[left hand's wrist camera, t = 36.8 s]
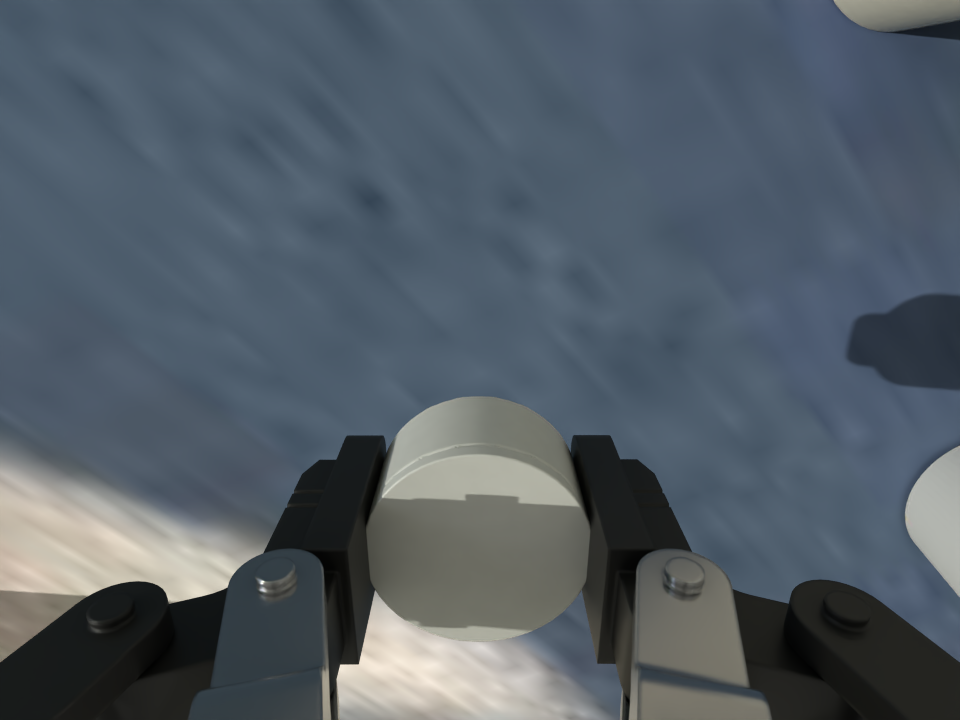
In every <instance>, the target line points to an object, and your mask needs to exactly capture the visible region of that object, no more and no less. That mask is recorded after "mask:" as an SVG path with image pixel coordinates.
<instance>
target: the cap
mask: <svg viewBox="0 0 960 720" xmlns="http://www.w3.org/2000/svg"><path fill="white" fill-rule="evenodd" d="M366 534H367V546H368V558H369V570H370V580H371V583H372V585H373V587H374V588H375V590H376V592H377V593H378V595H379V596H380V597H381V599H382V600H383V601H384V602H385V603H386V605H387V606H388V607H389V608H390V609H392V610H393V611H394V612H395V613H396V614H397V615H398V616H400V617H401V618H403V619H404V620H405V621H407V622H408V623H410V624H412V625H414V626H416V627H417V628H419V629H422V630H424V631H426V632H429V633H431V634H434V635H437V636H441V637H444V638H449V639H454V640H459V641H471V642H487V641H496V640H503V639H508V638H512V637H516V636H519V635H522V634H526V633H528V632H531V631H533V630H535V629H537V628H539V627H541V626H543V625H545V624H546V623H548V622H550V621H552V620H553V619H554V618H556V617H557V616H558V615H559V614H561V613H562V612H563V611H564V610H565V609H566V608H567V607H568V606H569V605H570V604H571V603H572V602H573V601H574V600H575V598H576V597H577V596H578V594H579V593H580V591H581V590H582V588H583V586H584V584H585V583H586V577H587V565H588V553H589V541H590V522H589V518H588V515H587V511H586V507H585V503H584V500H583V496H582V492H581V488H580V485H579V481H578V477H577V473H576V470H575V466H574V462H573V458H572V455H571V453H570V451H569V448H568V446H567V444H566V443H565V441H564V440H563V438H562V436H561V435H560V434H559V433H558V431H557V430H556V429H555V428H554V427H553V426H552V425H551V424H550V423H549V422H548V421H547V420H545V419H544V418H543V417H541V416H540V415H538V414H537V413H536V412H534V411H532V410H530V409H529V408H527V407H525V406H523V405H520V404H517V403H514V402H511V401H508V400H504V399H500V398H496V397H494V398H493V397H461V398H456V399H453V400H449V401H446V402H443V403H440V404H438V405H435V406H432V407H430V408H428V409H426V410H425V411H423V412H421V413H420V414H418V415H417V416H416V417H414V418H413V419H412V420H410V421H409V422H408V423H407V424H406V425H405V426H404V427H403V428H402V429H401V430H400V431H399V433H398V434H397V435H396V437H395V438H394V439H393V441H392V443H391V445H390V446H389V448H388V451H387V453H386V456H385V459H384V462H383V466H382V469H381V473H380V476H379V480H378V484H377V487H376V491H375V495H374V498H373V502H372V505H371V509H370V514H369V516H368V520H367V523H366Z"/></svg>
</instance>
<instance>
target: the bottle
mask: <svg viewBox="0 0 960 720" xmlns="http://www.w3.org/2000/svg"><path fill="white" fill-rule="evenodd" d="M834 2H835V4H836V5H837V6H838V8H839V9H840V10H841V11H842V12H843V13H844V14H845V15H846V16H847V17H848V18H849V19H850V20H852V21H854V22H855V23H857V24H858V25H860V26H863V27H865V28H868V29H871V30H875V31H881V32H898V31H905V30H911V29H916V28H922V27H927V26H933V25H938V24H944V23H949V22H955V21H960V0H834Z"/></svg>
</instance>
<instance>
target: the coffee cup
mask: <svg viewBox="0 0 960 720" xmlns="http://www.w3.org/2000/svg"><path fill="white" fill-rule="evenodd" d="M905 521H906V527H907V530H908V533H909V535H910V537H911V539H912V540H913V541H914V543H915V544H916V545H917V546H918V548H919V549H920V550H921V551H922V552H923V554H924V555H925V556H926V557H927V558H928V560H929V561H930V562H931V563H932V564H933V566H934V567H935V568H936V569H937V570H938V572H939V573H940V574H941V575H942V576H943V578H944V579H945V580H946V581H947V582H948V584H949V585H950V586H951V587H952V588H953V590H954V591H955V592H956V593H957V594H958V596H959V597H960V446H958V447H956V448H954V449H952V450H951V451H949V452H947V453H946V454H944V455H943V456H941V457H940V458H939V459H937V460H936V461H935V462H934V463H933V464H932V465H931V466H930V467H928V468H927V470H926V471H925V472H924V473H923V474H922V475H921V476H920V478H919V479H918V481H917V482H916V483H915V485H914V487H913V489H912V491H911V493H910V495H909V498H908V501H907V505H906V510H905Z"/></svg>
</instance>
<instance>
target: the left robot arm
mask: <svg viewBox="0 0 960 720" xmlns="http://www.w3.org/2000/svg"><path fill="white" fill-rule="evenodd" d="M571 455H572V458H573V462H574V466H575V470H576V473H577V477H578V481H579V485H580V488H581V492H582V496H583V500H584V503H585V507H586V511H587V515H588V518H589V522H590V541H589V553H588V565H587V577H586V583H585V584H584V586H583V588H582V593H583V598H584V603H585V607H586V612H587V617H588V621H589V626H590V631H591V636H592V640H593V645H594V650H595V655H596V659H597V664H616V667H617V671H618V675H619V679H620V683H621V686H622V697H621V713H620V720H960V662H958V661H957V660H956V659H954V658H953V657H952V656H950V655H949V654H948V653H947V652H945V651H944V650H943V649H941V648H940V647H939V646H937V645H936V644H935V643H934V642H932V641H931V640H930V639H928V638H927V637H926V636H924V635H923V634H922V633H921V632H919V631H918V630H917V629H915V628H914V627H913V626H911V625H910V624H909V623H908V622H906V621H905V620H904V619H902V618H901V617H900V616H898V615H897V614H896V613H895V612H893V611H892V610H891V609H889V608H888V607H887V606H885V605H884V604H883V603H882V602H880V601H879V600H877V599H876V598H874V597H873V596H871V595H869V594H868V593H866V592H864V591H862V590H860V589H857V588H855V587H853V586H850V585H847V584H844V583H840V582H836V581H830V580H811V581H806V582H803V583H801V584H799V585H798V586H796V587H795V588H794V590H793V591H792V593H791V597H790V601H789V604H787V603H783V602H778V601H774V600H770V599H766V598H761V597H757V596H753V595H749V594H745V593H742V592H739V591H736V590H734V589H732V585H731V582H730V580H729V578H728V576H727V575H726V573H725V572H724V571H723V570H722V569H721V568H720V567H719V566H718V565H717V564H715V563H714V562H713V561H711V560H709V559H708V558H706V557H704V556H701V555H699V554H697V553H694V552H692V551H691V549H690V547H689V544H688V542H687V540H686V538H685V536H684V534H683V532H682V530H681V528H680V526H679V524H678V522H677V519H676V517H675V515H674V513H673V511H672V509H671V507H669V503H668V501H667V499H666V497H665V495H664V493H662V488H661V486H660V484H659V482H658V480H657V478H656V476H655V474H654V473H653V472H652V471H651V470H649V469H648V468H647V467H646V466H645V465H643V464H642V463H641V462H640V461H638V460H637V459H620V458H619V455H618V453H617V450H616V448H615V445H614V443H613V440H612V438H611V436H610V435H574V436H573V438H572V444H571ZM385 456H386V444H385V438H384V436H346V438H345V440H344V443H343V445H342V448H341V450H340V452H339V455H338V457H337V460H319V461H318V462H316V463H315V464H314V465H313V466H311V467H310V468H309V469H308V470H307V471H305V472H304V473H303V474H302V475H301V478H300V480H299V482H298V484H297V486H296V488H295V490H294V494H292V496H291V498H290V500H289V502H288V504H287V508H285V510H284V512H283V514H282V516H281V518H280V520H279V522H278V524H277V527H276V529H275V531H274V533H273V535H272V537H271V539H270V541H269V543H268V545H267V547H266V549H265V551H264V553H263V554H261V555H259V556H256V557H254V558H252V559H251V560H249V561H247V562H246V563H245V564H243V565H242V566H241V567H240V568H239V569H238V570H237V571H236V572H235V573H234V575H233V576H232V578H231V579H230V582H229V585H228V588H226V589H224V590H221V591H218V592H216V593H213V594H209V595H206V596H202V597H197V598H193V599H189V600H184V601H180V602H176V603H171V604H169V603H168V599H167V595H166V593H165V591H164V590H163V589H162V588H161V587H159V586H158V585H155V584H153V583H149V582H140V581H136V582H126V583H121V584H117V585H113V586H110V587H107V588H104V589H102V590H100V591H98V592H95V593H93V594H91V595H90V596H88V597H86V598H84V599H83V600H82V601H80V602H79V603H77V604H76V605H75V606H73V607H72V608H71V609H69V610H68V611H67V612H65V613H64V614H63V615H62V616H60V617H59V618H58V619H56V620H55V621H54V622H52V623H51V624H50V625H49V626H47V627H46V628H45V629H43V630H42V631H41V632H39V633H38V634H37V635H36V636H34V637H33V638H32V639H30V640H29V641H28V642H26V643H25V644H24V645H23V646H21V647H20V648H19V649H17V650H16V651H15V652H13V653H12V654H11V655H9V656H8V657H7V658H6V659H4V660H3V661H2V662H0V720H340V713H339V697H338V688H337V680H336V679H337V675H338V671H339V667H340V664H359V661H360V656H361V651H362V647H363V642H364V638H365V633H366V629H367V624H368V619H369V615H370V610H371V606H372V601H373V597H374V592H375V588H374V587H373V585H372V583H371V580H370V570H369V558H368V546H367V534H366V523H367V520H368V516H369V514H370V509H371V505H372V502H373V498H374V495H375V491H376V487H377V484H378V480H379V476H380V473H381V469H382V466H383V462H384V459H385Z"/></svg>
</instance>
